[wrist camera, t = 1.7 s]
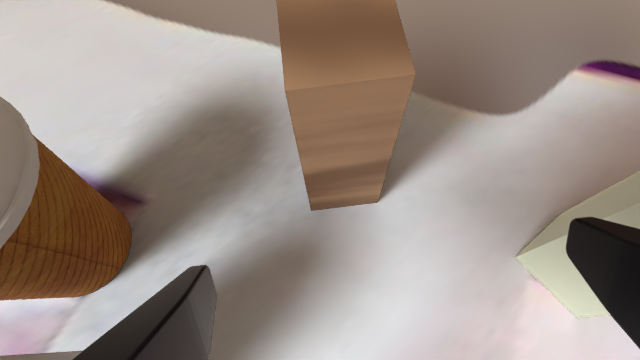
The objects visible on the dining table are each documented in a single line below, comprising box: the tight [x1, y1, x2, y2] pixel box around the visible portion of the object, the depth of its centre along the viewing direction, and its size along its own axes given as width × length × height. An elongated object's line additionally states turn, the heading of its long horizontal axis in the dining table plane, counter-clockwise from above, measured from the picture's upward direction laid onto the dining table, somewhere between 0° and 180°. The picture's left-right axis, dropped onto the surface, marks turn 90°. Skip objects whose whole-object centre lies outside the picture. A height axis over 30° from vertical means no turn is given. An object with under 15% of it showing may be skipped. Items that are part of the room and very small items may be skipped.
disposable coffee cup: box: [0, 97, 131, 300], centre depth 19 cm, size 10×10×12 cm
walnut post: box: [277, 0, 416, 211], centre depth 19 cm, size 4×4×13 cm
